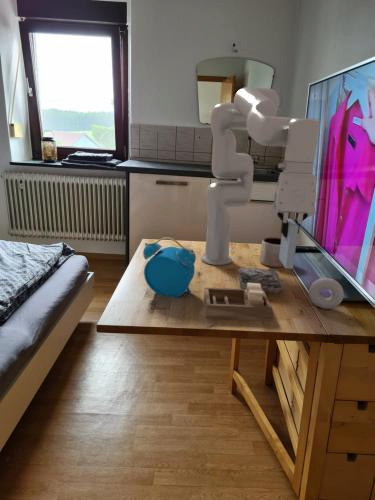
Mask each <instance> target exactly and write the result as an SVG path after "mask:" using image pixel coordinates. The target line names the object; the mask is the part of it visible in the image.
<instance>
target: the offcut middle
mask: <svg viewBox="0 0 375 500" xmlns="http://www.w3.org/2000/svg"><path fill="white" fill-rule="evenodd" d="M244 298H245V300H246V303H247V305H256V306H264V300H263V298H262V301H257V300H248V295H247V290H245V291H244Z"/></svg>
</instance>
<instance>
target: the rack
mask: <svg viewBox="0 0 375 500" xmlns="http://www.w3.org/2000/svg"><path fill="white" fill-rule="evenodd" d="M245 290H247V289H241V288H231V287H230V288H229V287H227V288H226V287H204V295H203V296H204V297H203V300H204V301H203V303H204V310H205V311H204V312H205V319H210V320H211V319H212V320H213V319H215V320H236V321H237V320H240V321H242V320H243V321H263V322H265V321H267V322H269V321H271V317H272V311H273V310H272V309H273V307H272V305H271V303H270V301H269V299H268V297H267V295H266V294H267V293H265V292H264V290H262V292H263V297H262V298H263V300H264V306H256V305H244V291H245Z"/></svg>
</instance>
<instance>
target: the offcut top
mask: <svg viewBox="0 0 375 500" xmlns="http://www.w3.org/2000/svg"><path fill="white" fill-rule="evenodd" d="M247 295H248V300H257V301H262V297H263V292H262V288H261V285H260V283H247Z"/></svg>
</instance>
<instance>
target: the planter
mask: <svg viewBox="0 0 375 500" xmlns="http://www.w3.org/2000/svg"><path fill="white" fill-rule="evenodd" d="M281 238H282V237H275V236H274V237H273V236H272V237H271V236H270V237H264V238H262V241H261V249H260V256H259V262H260V263H261V264H262V265H263V266H266V267H269V268H277V269H278V268H283V267H284V265H283V264H282V262H281V261H280V259H279V253H280V246H281ZM284 268H285V267H284Z"/></svg>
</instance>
